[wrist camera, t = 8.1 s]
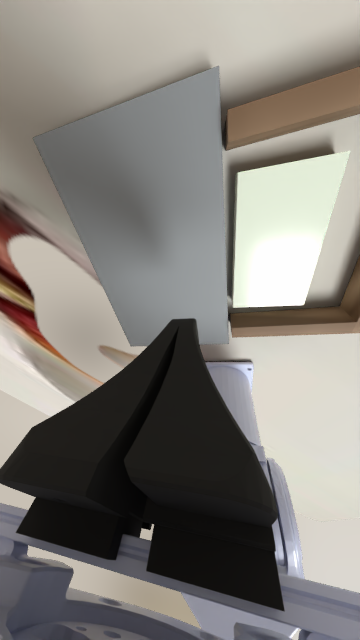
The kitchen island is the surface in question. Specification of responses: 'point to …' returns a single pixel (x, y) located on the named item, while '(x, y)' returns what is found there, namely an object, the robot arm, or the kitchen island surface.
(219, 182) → the raised plate
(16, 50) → the kitchen island surface
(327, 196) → the tile
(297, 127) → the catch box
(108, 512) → the robot arm
